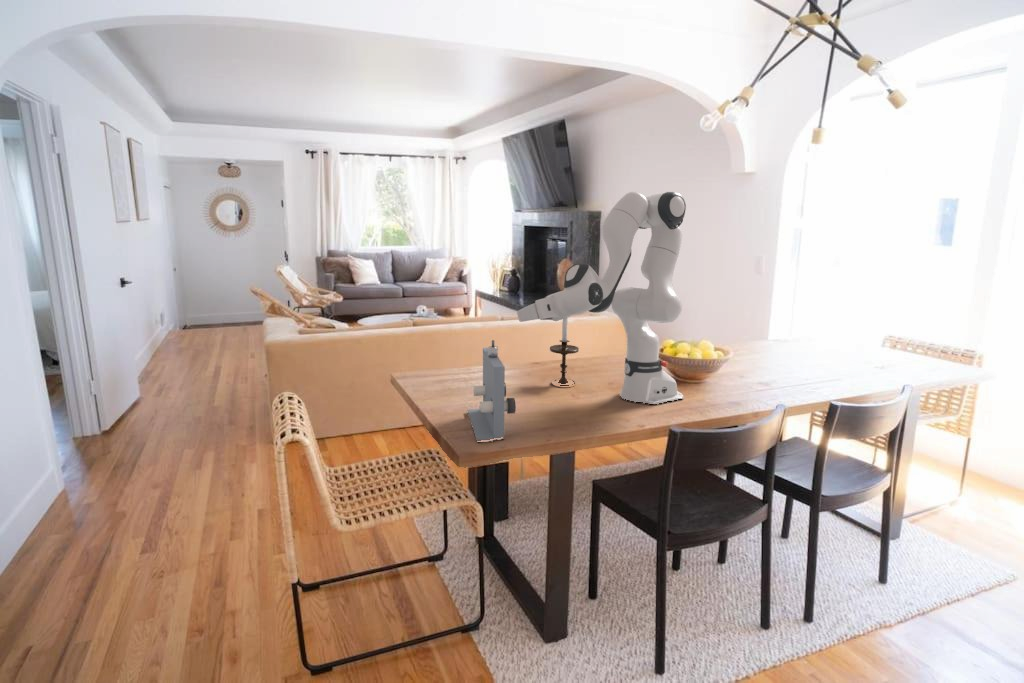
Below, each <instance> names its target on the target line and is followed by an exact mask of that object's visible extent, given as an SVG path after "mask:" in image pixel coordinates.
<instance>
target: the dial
mask: <svg viewBox="0 0 1024 683" xmlns="http://www.w3.org/2000/svg"><path fill="white" fill-rule="evenodd" d="M487 348H488V357H490V358H496V357H499V356H498V355H499V354H498V353H499V352H498V350H499V349H498V348H499V347H498V346H496V345H495V340H494V339H492V340H491V345H490V346H488V347H487Z"/></svg>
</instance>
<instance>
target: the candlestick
mask: <svg viewBox="0 0 1024 683" xmlns="http://www.w3.org/2000/svg"><path fill="white" fill-rule="evenodd" d="M568 318H569V317H568ZM568 318H565V319H562V322H561V323H562V330H561V331H562V332H561V339H559V342H560V343H561V344H554V345H551V346H550V347H549V351H550V352H552V353H554V354H560V355H561V363H560V365H559V367H560V368H561V370H560V373H561V377H560V378H559V379H560V380H559V382H558V383H561V384H566V383H568V381H567V379H568V378H566V373H567V368H568V364H567V363H566V359H567V355H570V354H577V353H579V348H580V347H578V346H576V345H572V344H568V343H570V342H571V340H568ZM571 380H572V379H571ZM572 381H573V382H574V384H575V385H576V381H575V380H572ZM572 385H573V384H572ZM560 386H569V385H560Z"/></svg>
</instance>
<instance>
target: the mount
mask: <svg viewBox="0 0 1024 683" xmlns="http://www.w3.org/2000/svg"><path fill="white" fill-rule="evenodd" d="M505 368H506V367H505V365H504V363H503V361H501V359H500V357H499V356H498V357H496V358H490V357H488V347H482V386H483V385H486V395H485V396H482V402H485V401H493V412H486V413H480V408H475V409H474V408H472V409H471V408H469V409H468V408H467V411H468V413H467V415H468V414H469V416H468V418H469V417H470V419H469V421H470V420H471V422H470V424H471V423H472V425H471V427H472V426H473V429H474V432H475V435H474V437H475V436H476V438H475V440H476V439H477V441H481V440H490V439H494V438H501V437H504V438H505V412H504V401H505V397H504V387H505V384H506V380H505ZM473 429H472V430H473ZM474 432H473V433H474ZM477 441H476V442H477Z"/></svg>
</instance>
